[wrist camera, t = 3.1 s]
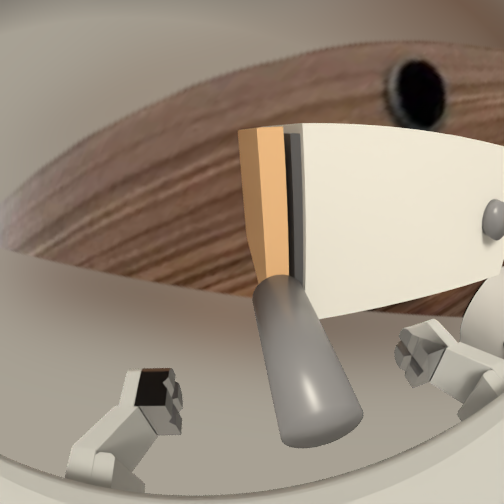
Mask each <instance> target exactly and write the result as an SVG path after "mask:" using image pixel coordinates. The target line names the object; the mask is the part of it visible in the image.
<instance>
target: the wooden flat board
mask: <svg viewBox="0 0 504 504" xmlns="http://www.w3.org/2000/svg"><path fill="white" fill-rule="evenodd" d="M238 141H239V153H240V165H241V177H242V189H243V201H244V212H245V224H246V235H247V240H248V244H249V248H250V252H251V255H252V259H253V263H254V267H255V271H256V275H257V279H258V282H259V285H258V286H257V287H256V289H255V291H254V293H253V298H252V301H253V306H254V311H255V316H256V321H257V326H258V331H259V336H260V341H261V345H262V350H263V355H264V359H265V365H266V370H267V375H268V379H269V384H270V389H271V394H272V398H273V403H274V408H275V413H276V417H277V422H278V426H279V431H280V436H281V440H282V442H283V443H284V444H285V445H287V446H290V447H294V448H311V447H317V446H321V445H325V444H328V443H331V442H333V441H336V440H338V439H340V438H342V437H343V436H345V435H347V434H348V433H350V432H351V431H352V430H354V428H355V427H357V426H358V424H359V423H360V422H361V420H362V418H363V410H362V408H361V406H360V404H359V402H358V400H357V397H356V395H355V393H354V391H353V389H352V387H351V385H350V383H349V380H348V378H347V376H346V374H345V372H344V370H343V368H342V366H341V364H340V362H339V359H338V357H337V355H336V353H335V351H334V349H333V347H332V345H331V343H330V341H329V339H328V337H327V335H326V333H325V330H324V329H323V326H322V325H321V322H320V320H319V318H318V316H317V314H316V312H315V310H314V308H313V306H312V304H311V302H310V300H309V298H308V296H307V294H306V292H305V290H304V288H303V287H302V285H301V283H300V282H299V281H298V280H297V279H296V278H294V277H292V276H289V249H288V215H287V189H286V168H285V149H284V133H283V127H262V128H251V129H243V130H238Z"/></svg>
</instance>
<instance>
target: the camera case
mask: <svg viewBox="0 0 504 504" xmlns="http://www.w3.org/2000/svg"><path fill="white" fill-rule="evenodd" d="M267 127H283V133H284V149H285V168H286V189H287V215H288V249H289V276H292V277H294V278H296V279H297V280H298V281H299V282H300V283H301V285H302V287H303V288H304V290H305V292H306V294H307V296H308V298H309V300H310V302H311V304H312V306H313V308H314V310H315V312H316V314H317V316H318V318H319V319H323V318H329V317H334V316H340V315H345V314H349V313H355V312H360V311H365V310H370V309H374V308H379V307H384V306H388V305H392V304H397V303H401V302H405V301H409V300H413V299H417V298H421V297H425V296H429V295H433V294H436V293H440V292H444V291H447V290H451V289H454V288H458V287H461V286H465V285H468V284H471V283H475V282H478V281H481V280H484V279H487V278H490V277H493V276H496V275H499V274H500V270H501V267H502V263H503V260H504V147H503V146H500V145H496V144H492V143H488V142H483V141H479V140H474V139H469V138H464V137H459V136H454V135H448V134H442V133H436V132H429V131H422V130H415V129H406V128H397V127H386V126H374V125H358V124H330V123H301V124H288V125H277V126H267ZM259 128H262V127H259Z"/></svg>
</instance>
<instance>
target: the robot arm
mask: <svg viewBox="0 0 504 504" xmlns="http://www.w3.org/2000/svg"><path fill="white" fill-rule="evenodd" d="M399 337H400V339H401V341H400V342H399V343H398V344H397V345H396V348H395V352H394V353H395V360H396V363H397V365H398V366H399V368H400V369H402V370H404V371H405V377H406V379H407V380H408V382H409V383H410V385H411V387H412V388H415V387H417V386H420V385H422V384H425V383H427V382H430V383H431V384H432V385H434V386H436V387H438V388H439V389H440V390H442V391H444V392H445V393H447V394H449V395H450V396H452V397H453V398H455V399H457V400H458V401H460V402H461V403H463V405H462V407H461V408H460V410H459V411H458V417H459V418H460V420H461V422H460V423H458V424H456V425H455V426H453V427H451V428H449V429H448V430H446V431H444V432H442V433H440V434H439V435H437V436H435V437H433V438H431V439H429V440H427V441H425V442H423V443H421V444H419V445H417V446H415V447H413V448H411V449H408V450H406V451H404V452H402V453H399V454H397V455H394V456H392V457H390V458H387V459H385V460H382V461H379V462H377V463H375V464H371V465H368V466H366V467H363V468H360V469H357V470H354V471H351V472H347V473H345V474H341V475H338V476H334V477H330V478H326V479H322V480H318V481H315V482H310V483H306V484H301V485H296V486H291V487H285V488H280V489H273V490H267V491H259V492H251V493H241V494H228V495H205V496H204V495H203V496H185V495H183V496H182V495H162V494H149V493H145V484H144V483H143V481H142V480H141V479H139V478H138V477H137V476H136V475H135V474H133V473H132V471H133V470H134V469H135V467H136V466H137V465H138V463H139V462H140V461H141V459H142V458H143V456H144V455H145V454H146V452H147V451H148V449H149V448H150V447H151V445H152V444H153V442H154V441H155V440H156V438H157V435H181V429H182V418H181V416H180V414H179V412H180V411H181V409H182V407H183V401H182V392H181V388H180V385H179V383H177V382H175V373H174V371H173V369H172V368H155V369H154V368H153V369H129V370H128V372H127V374H126V378H125V382H124V385H123V389H122V394H121V398H120V402H119V406H114V407H113V408H112V409H111V410H110V411H109V412H108V413H107V414H106V415H105V416H103V417H102V419H100V420H99V421H98V422H97V423H96V424H95V425H94V426H93V427H92V428H91V429H90V430H89V431H88V432H87V433H86V434H84V436H82V437H81V438H80V439H79V440H78V441H77V442H76V443H75V444H74V445H73V446H72V449H71V453H70V457H69V461H68V466H67V470H66V475H65V478H63V477H59V476H56V475H52V474H49V473H46V472H43V471H40V470H37V469H35V468H32V467H29V466H27V465H24V464H21V463H19V462H17V461H14V460H12V459H9V458H7V457H5V456H3V455H0V504H504V267H502V268H501V270H500V274H499V275H496V276H493V277H490V278H488V279H487V280H486V281H485V282H484V283H483V285H482V286H481V287H480V289H479V290H478V291H477V293H476V294H475V296H474V298H473V299H472V301H471V303H470V304H469V306H468V308H467V310H466V313H465V315H464V317H463V320H462V324H461V328H460V341H459V343H457V341H456V340H455V339H454V338H453V337H452V336H451V335H450V334H449V333H448V332H447V330H446V329H445V328H444V327H443V326H442V325H441V324H440V323H439V322H438V321H437V320H435V319H432V320H428V321H425V322H423V323H419V324H416V325H413V326H410V327H407V328H403V329H402V331H401V332H400V335H399Z"/></svg>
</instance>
